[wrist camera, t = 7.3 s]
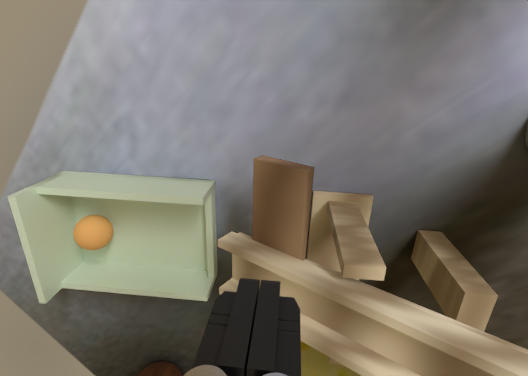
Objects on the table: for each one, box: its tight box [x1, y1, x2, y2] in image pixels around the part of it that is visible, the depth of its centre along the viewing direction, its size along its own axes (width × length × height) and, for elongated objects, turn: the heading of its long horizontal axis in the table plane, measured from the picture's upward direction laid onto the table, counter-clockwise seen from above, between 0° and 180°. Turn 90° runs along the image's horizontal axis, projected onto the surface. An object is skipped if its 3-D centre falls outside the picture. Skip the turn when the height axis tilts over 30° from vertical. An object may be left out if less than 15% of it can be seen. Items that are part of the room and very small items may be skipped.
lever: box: [218, 156, 528, 376], centre depth 18 cm, size 20×11×3 cm
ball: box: [73, 215, 113, 250], centre depth 28 cm, size 3×3×3 cm
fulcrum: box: [307, 191, 498, 365], centre depth 24 cm, size 12×9×10 cm
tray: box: [8, 171, 218, 303], centre depth 27 cm, size 10×14×6 cm
